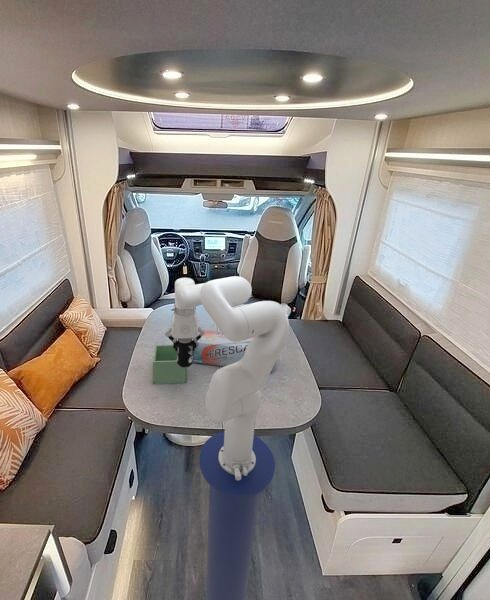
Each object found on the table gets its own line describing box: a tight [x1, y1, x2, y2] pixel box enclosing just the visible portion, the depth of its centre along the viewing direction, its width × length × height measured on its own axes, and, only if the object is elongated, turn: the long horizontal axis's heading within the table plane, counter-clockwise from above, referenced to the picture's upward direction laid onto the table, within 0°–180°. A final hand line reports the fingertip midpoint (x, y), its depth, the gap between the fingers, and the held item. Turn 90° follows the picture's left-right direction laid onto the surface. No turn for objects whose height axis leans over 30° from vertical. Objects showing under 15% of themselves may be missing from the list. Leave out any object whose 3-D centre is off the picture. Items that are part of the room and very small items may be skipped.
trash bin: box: [152, 344, 187, 384], centre depth 149 cm, size 15×15×12 cm
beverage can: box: [177, 338, 194, 368], centre depth 128 cm, size 7×7×12 cm
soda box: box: [193, 329, 273, 373], centre depth 160 cm, size 41×14×13 cm, turn 80°
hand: (184, 349), depth 127 cm, fingers closed on beverage can, 6 cm apart
